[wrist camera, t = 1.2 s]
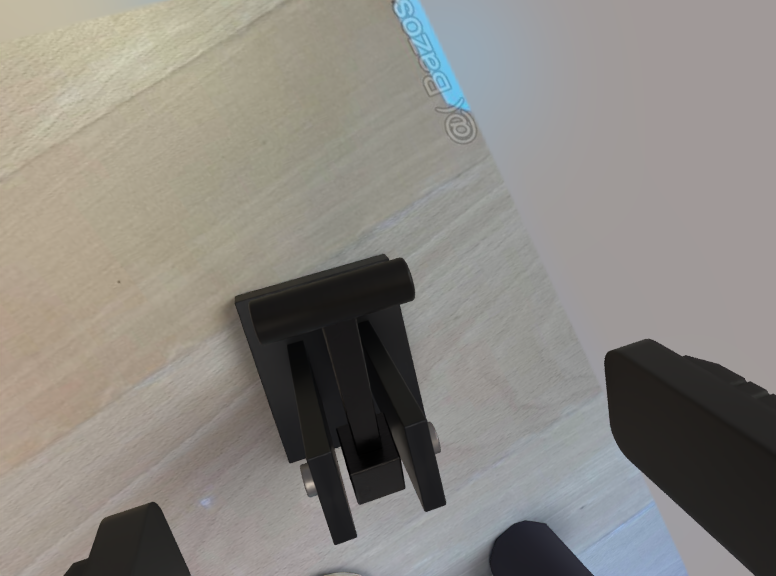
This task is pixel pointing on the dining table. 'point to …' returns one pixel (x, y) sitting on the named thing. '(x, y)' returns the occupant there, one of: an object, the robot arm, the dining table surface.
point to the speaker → (534, 553)
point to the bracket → (324, 405)
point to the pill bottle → (343, 574)
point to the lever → (346, 359)
